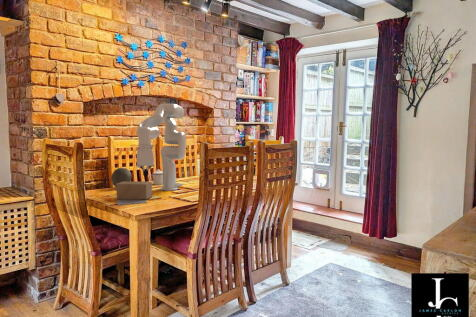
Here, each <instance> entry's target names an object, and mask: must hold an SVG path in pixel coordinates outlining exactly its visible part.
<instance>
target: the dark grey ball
mask: <svg viewBox="0 0 476 317" xmlns="http://www.w3.org/2000/svg"><path fill="white" fill-rule="evenodd" d="M132 175H133V174H132V172H131V171H130V170H129V169H128V168H127V167H126V168H125V167H118V168H116V169H114V170H113V172H112V173H111V178H110V180H111V183H112V185H113V186H114V187H115V188H116V184H117V183H120V182H123V181H128V182H132Z"/></svg>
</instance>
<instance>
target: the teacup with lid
mask: <svg viewBox="0 0 476 317" xmlns="http://www.w3.org/2000/svg"><path fill="white" fill-rule="evenodd" d="M151 177H152V179H151ZM148 179H149V180H150V181H149V182H152V185H154V186H163V170H160V169H159V168H158V169H156V170H155V171H153V172H152V174H150V175H148Z"/></svg>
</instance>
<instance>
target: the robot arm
mask: <svg viewBox="0 0 476 317" xmlns="http://www.w3.org/2000/svg"><path fill="white" fill-rule="evenodd" d="M184 116H185V110H184V108H183V106H181V105H178V104H176V103H161V104H160V103H159V105H158V106H157V107H156V109H155V110H154V112H153V113H152V115H151V116H148V117H147V118H145V119H143V120H142V121H141V122H140V123H139V125H138V126H137V129H136V135H137V137H138V140H137V141H138V149H137V151H136V168H138V169H139V168H140V169H141V170H142V173H143V174H142V175H143V177H148V176H149V170H150V169H151V168H154V167H155V158H154V151H153V148H154V144H152V139H157V138H158V137H159V136H160V133H161V132H160V129H159V128H158V126H161V125H163V124H164V125H165V126H164V134H163V136H164V137H163V140H164V141H163V142H164V143H165V144H166V145H164V146H163V147H161V149H160V155H161V164H162V165H161V166H162V167H161V168H162V170H161V171H162V172H163V184H162V186H161V187H160V190H161V191H167V192H169V191H170V192H171V191H177V190H179V187H183V183H182V182H181V183H177V168H176V167H177V165H176V163H175V161H174V160H183V159H184V158H185V157H186V147H187V136H186V135H187V134H186V133H185V132H184V131H178V125H177V122H176V121H175V120H174V119H182V118H184ZM145 166H146V168H145Z"/></svg>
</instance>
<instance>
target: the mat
mask: <svg viewBox="0 0 476 317" xmlns="http://www.w3.org/2000/svg"><path fill="white" fill-rule="evenodd" d="M146 200H147V199H146ZM146 200H142V199H116V200H115V201H116V204H117V206H125V205H135V204H137V205H139V204H147V203H148V201H146Z"/></svg>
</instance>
